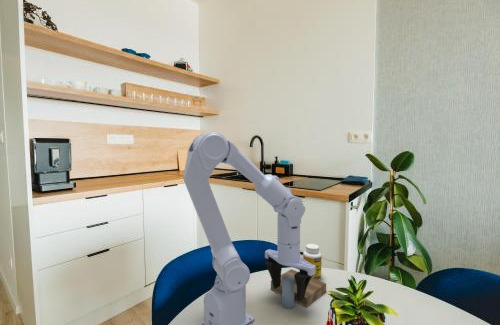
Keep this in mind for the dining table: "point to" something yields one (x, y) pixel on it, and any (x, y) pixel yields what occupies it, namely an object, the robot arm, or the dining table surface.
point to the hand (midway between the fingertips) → (288, 292)
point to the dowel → (288, 291)
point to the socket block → (312, 291)
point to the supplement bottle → (313, 258)
